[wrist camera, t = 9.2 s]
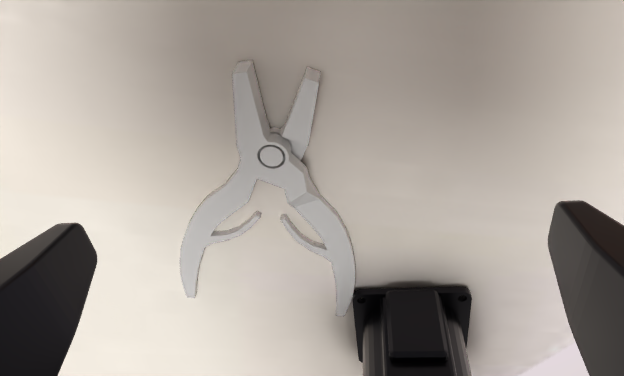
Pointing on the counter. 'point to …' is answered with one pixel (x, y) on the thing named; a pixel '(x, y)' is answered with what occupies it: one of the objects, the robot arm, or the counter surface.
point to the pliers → (277, 171)
